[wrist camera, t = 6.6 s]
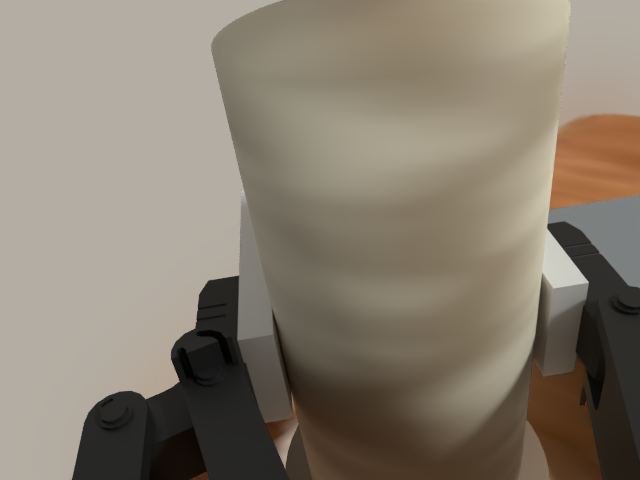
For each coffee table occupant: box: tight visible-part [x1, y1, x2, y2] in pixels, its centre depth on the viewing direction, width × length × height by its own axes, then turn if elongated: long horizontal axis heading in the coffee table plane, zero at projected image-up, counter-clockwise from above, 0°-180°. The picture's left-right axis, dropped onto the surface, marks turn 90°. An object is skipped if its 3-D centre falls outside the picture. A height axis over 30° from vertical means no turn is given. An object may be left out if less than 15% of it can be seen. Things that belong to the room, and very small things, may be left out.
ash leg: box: [211, 0, 571, 480], centre depth 15 cm, size 8×8×16 cm
